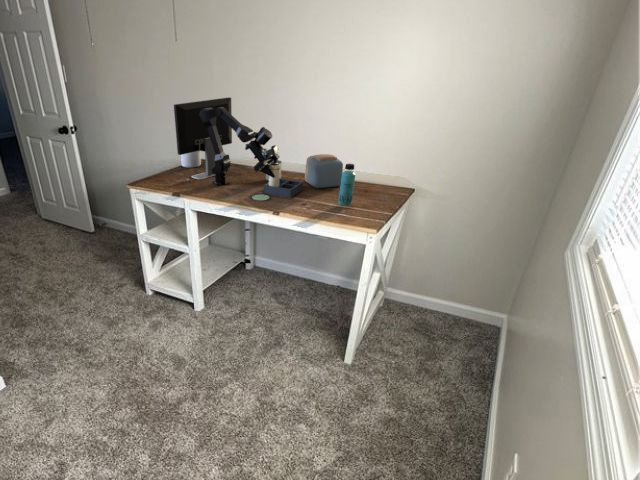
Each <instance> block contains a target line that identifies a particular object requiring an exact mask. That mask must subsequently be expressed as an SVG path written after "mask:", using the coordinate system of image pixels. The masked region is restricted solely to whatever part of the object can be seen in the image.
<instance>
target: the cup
mask: <svg viewBox="0 0 640 480" xmlns="http://www.w3.org/2000/svg"><path fill="white" fill-rule="evenodd" d="M277 163H279V164H280V178H281V179H282V165H283V162H282V161H281V160H279V159H278V160H277ZM265 180H266V181H269V175H267V174H265Z"/></svg>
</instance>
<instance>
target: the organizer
mask: <svg viewBox="0 0 640 480" xmlns="http://www.w3.org/2000/svg"><path fill="white" fill-rule="evenodd" d="M303 189H304V182H303V181H300V180H294V179H293V180H292V179H286V178H282V177H281V178H280V184H279V186H278V187H274V186H269V182H267V183H265V184H263V194H266V195H274V196H280V197H285V198H290V199H291V198H292V197H294V196H295V195H297V194H298V193H299V192H301V191H303Z"/></svg>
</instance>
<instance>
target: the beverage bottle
mask: <svg viewBox="0 0 640 480" xmlns="http://www.w3.org/2000/svg"><path fill="white" fill-rule="evenodd" d="M344 169H345V170H343V173H342V178H341V184H340V186H339V191H338V198H337V203H338V205H341V206H346V207H347V206H350V205H351V204H352V201H353V196H354V190H355V189H354V188H355V181H356V176H357V175H356V173H355V172H354V170H355V164H354V163H345V166H344Z"/></svg>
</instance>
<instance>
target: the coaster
mask: <svg viewBox="0 0 640 480" xmlns="http://www.w3.org/2000/svg"><path fill="white" fill-rule="evenodd" d="M251 199H253V200H255V201H266V200H269V199H270V196H269V195H268V194H255V195H252V196H251Z"/></svg>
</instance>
